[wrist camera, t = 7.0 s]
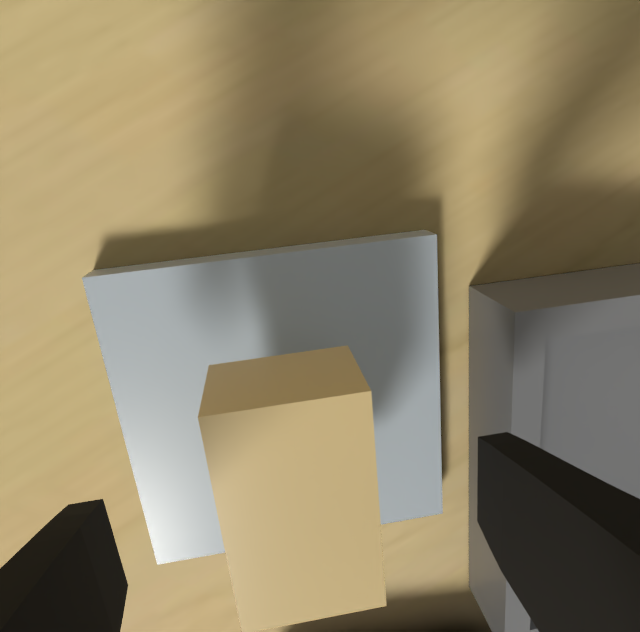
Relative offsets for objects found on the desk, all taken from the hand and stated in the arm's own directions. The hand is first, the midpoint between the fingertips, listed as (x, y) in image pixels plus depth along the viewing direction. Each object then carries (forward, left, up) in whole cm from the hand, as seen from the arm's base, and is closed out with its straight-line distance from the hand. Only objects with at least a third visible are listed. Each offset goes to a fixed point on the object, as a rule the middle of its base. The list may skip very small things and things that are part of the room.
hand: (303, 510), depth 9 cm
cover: (0, 0, -5) cm, 5 cm away
